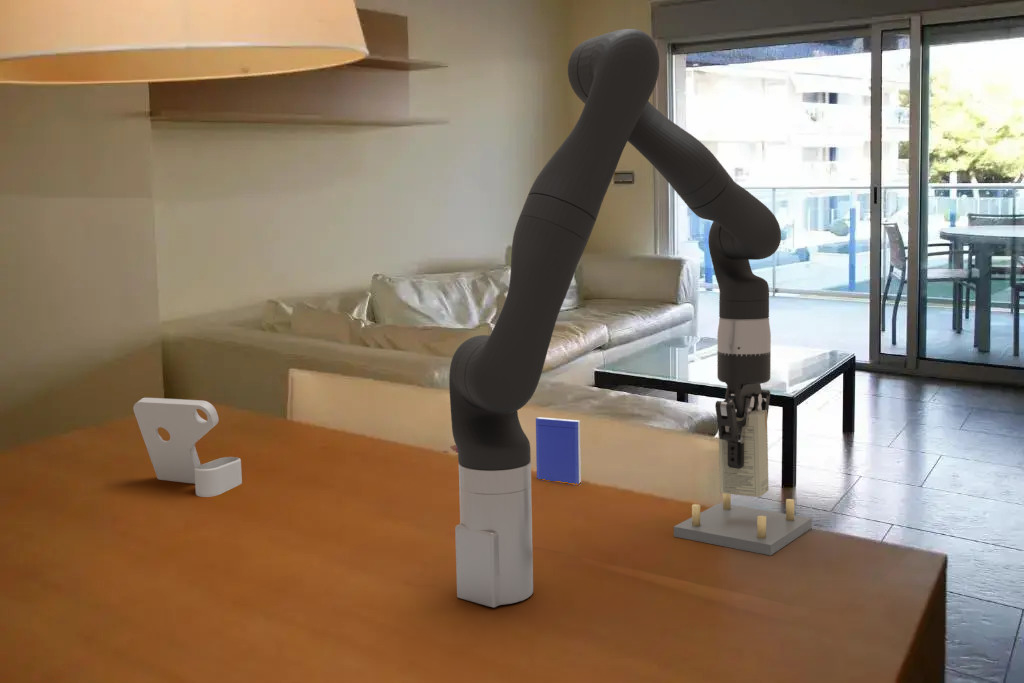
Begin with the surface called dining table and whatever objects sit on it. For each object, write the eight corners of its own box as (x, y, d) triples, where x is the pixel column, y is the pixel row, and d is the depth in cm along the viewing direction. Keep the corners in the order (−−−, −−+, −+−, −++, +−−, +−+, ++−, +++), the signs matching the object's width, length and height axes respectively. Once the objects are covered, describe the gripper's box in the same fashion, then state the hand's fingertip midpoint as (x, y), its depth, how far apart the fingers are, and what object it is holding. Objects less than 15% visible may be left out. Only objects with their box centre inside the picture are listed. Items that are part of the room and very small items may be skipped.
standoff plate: (770, 555, 133) (771, 523, 133) (673, 536, 142) (673, 506, 142) (811, 528, 145) (812, 498, 144) (719, 512, 154) (719, 484, 154)
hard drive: (578, 492, 168) (577, 421, 166) (536, 487, 172) (534, 418, 170) (581, 490, 169) (580, 420, 168) (540, 485, 173) (538, 416, 172)
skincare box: (769, 491, 143) (769, 410, 142) (760, 498, 139) (760, 415, 138) (727, 486, 146) (727, 406, 145) (717, 493, 143) (717, 411, 141)
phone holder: (250, 492, 173) (244, 392, 171) (213, 507, 163) (207, 402, 161) (171, 485, 179) (165, 389, 177) (131, 499, 169) (124, 398, 167)
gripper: (747, 356, 133) (746, 478, 135) (788, 345, 144) (787, 457, 146) (697, 352, 137) (697, 470, 139) (741, 342, 148) (740, 451, 150)
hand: (743, 463), depth 142 cm, fingers closed on skincare box, 4 cm apart
